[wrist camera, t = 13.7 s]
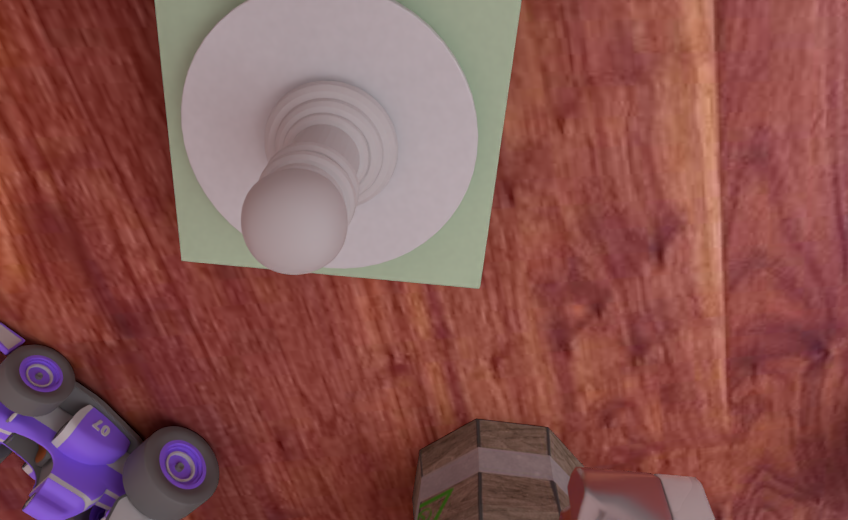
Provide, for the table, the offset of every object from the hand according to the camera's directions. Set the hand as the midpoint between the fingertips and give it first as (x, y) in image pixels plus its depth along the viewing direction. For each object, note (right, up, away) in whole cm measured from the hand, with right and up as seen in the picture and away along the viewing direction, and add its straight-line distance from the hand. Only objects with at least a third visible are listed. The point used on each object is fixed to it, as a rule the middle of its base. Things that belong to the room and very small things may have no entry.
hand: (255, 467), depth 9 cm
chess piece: (-1, +8, +19) cm, 21 cm away
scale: (-1, +10, +22) cm, 24 cm away
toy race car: (-18, -7, +33) cm, 38 cm away
